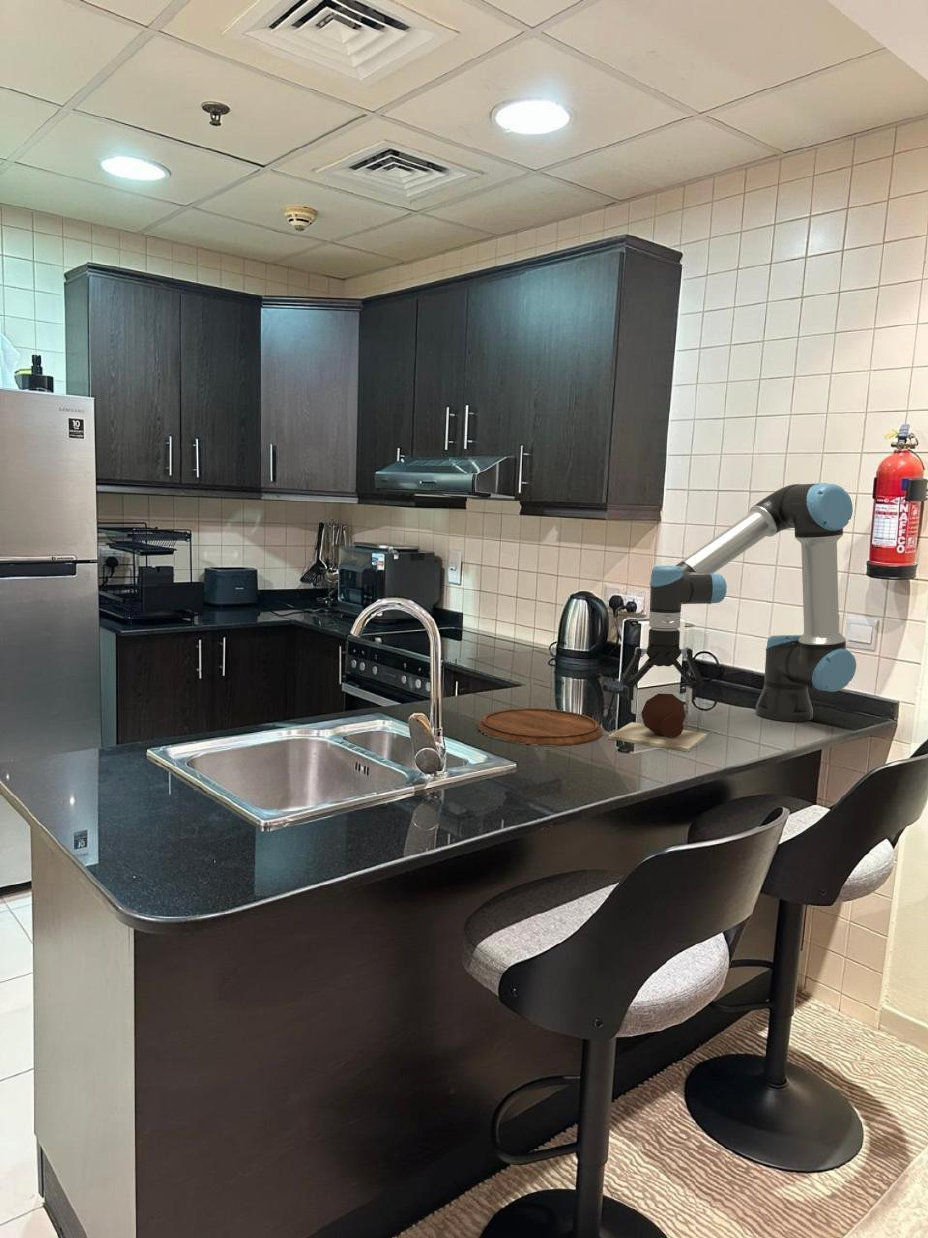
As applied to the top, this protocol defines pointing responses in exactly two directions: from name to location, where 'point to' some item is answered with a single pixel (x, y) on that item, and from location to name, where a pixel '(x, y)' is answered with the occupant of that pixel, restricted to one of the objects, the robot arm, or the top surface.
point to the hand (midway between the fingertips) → (660, 713)
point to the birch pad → (657, 737)
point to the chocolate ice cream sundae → (664, 715)
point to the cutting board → (541, 726)
